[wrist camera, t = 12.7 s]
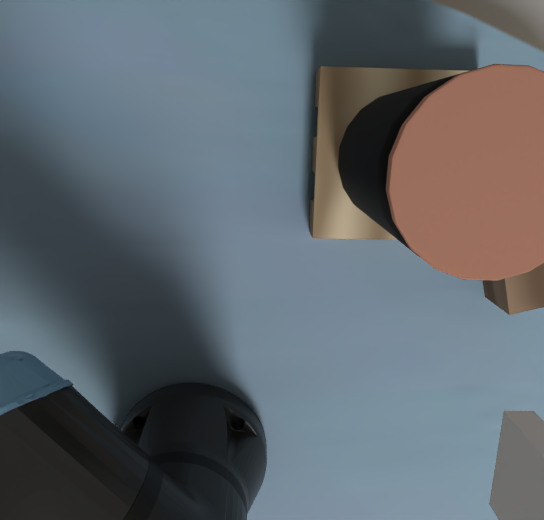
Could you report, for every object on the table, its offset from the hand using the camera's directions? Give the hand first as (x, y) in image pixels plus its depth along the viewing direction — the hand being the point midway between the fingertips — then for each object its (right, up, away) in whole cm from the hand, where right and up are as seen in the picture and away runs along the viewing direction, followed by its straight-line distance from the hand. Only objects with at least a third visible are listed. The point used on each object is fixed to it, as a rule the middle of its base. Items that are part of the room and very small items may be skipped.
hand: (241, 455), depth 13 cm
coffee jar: (+11, +13, +30) cm, 35 cm away
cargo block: (+23, +4, +35) cm, 42 cm away
